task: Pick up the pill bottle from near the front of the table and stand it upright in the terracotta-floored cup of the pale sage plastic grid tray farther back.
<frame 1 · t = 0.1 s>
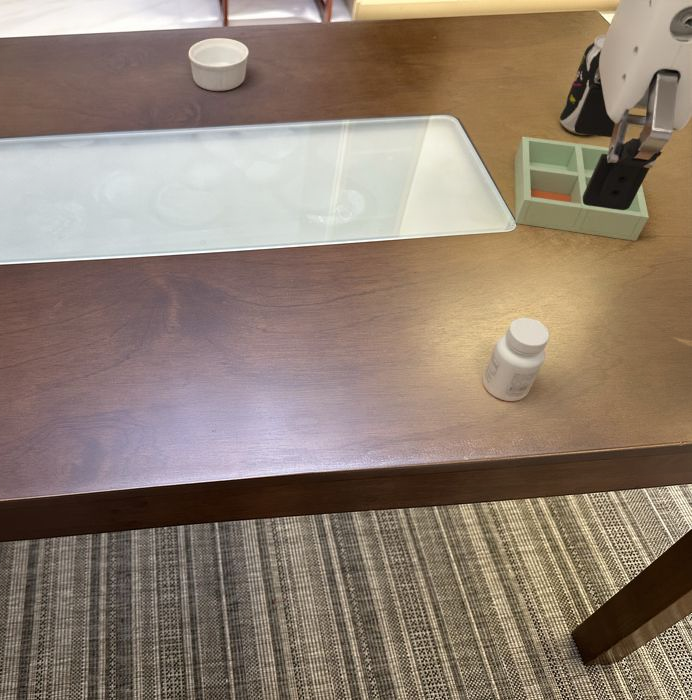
hand: (598, 167, 56), 22 cm above the table, tool pointing down, fingers open, 9 cm apart
grid: (571, 198, 90), on the table
beverage can: (578, 128, 100), on the table
ramekin: (219, 80, 109), on the table
pill bottle: (504, 385, 70), on the table
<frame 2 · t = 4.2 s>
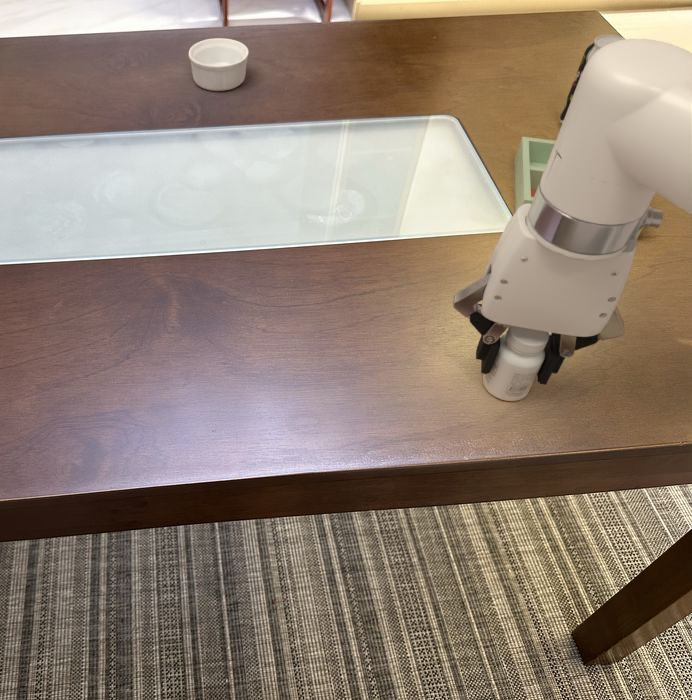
hand: (513, 366, 68), 3 cm above the table, tool pointing down, fingers closed on pill bottle, 4 cm apart
pill bottle: (504, 385, 70), on the table, touching gripper
everything else where it was.
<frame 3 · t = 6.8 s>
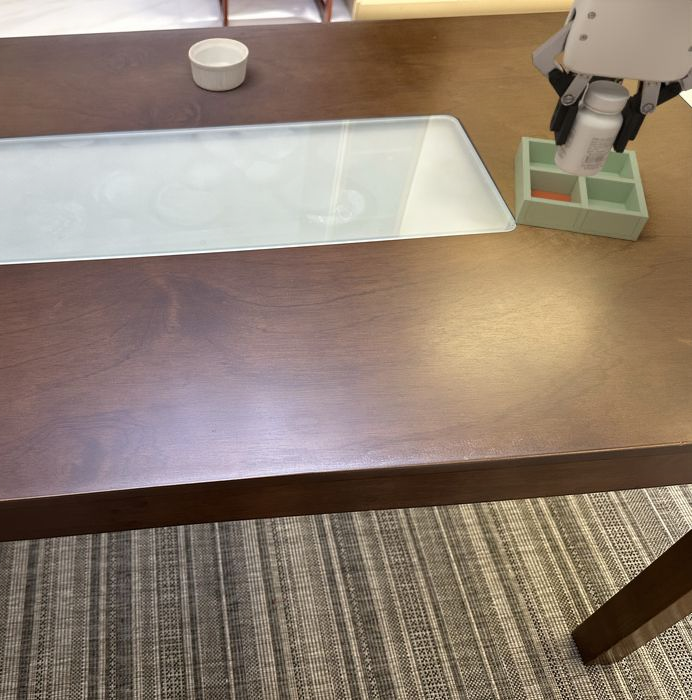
hand: (587, 139, 67), 17 cm above the table, tool pointing down, fingers closed on pill bottle, 4 cm apart
pill bottle: (576, 166, 69), point 15 cm above the table, touching gripper
everything else where it was.
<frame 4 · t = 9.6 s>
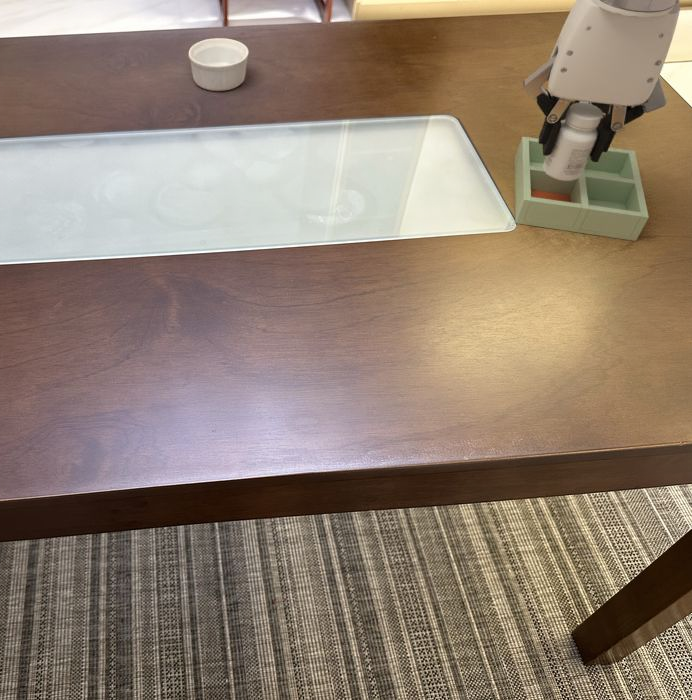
hand: (569, 150, 82), 8 cm above the table, tool pointing down, fingers closed on pill bottle, 4 cm apart
pill bottle: (560, 172, 84), point 5 cm above the table, touching gripper
everything else where it was.
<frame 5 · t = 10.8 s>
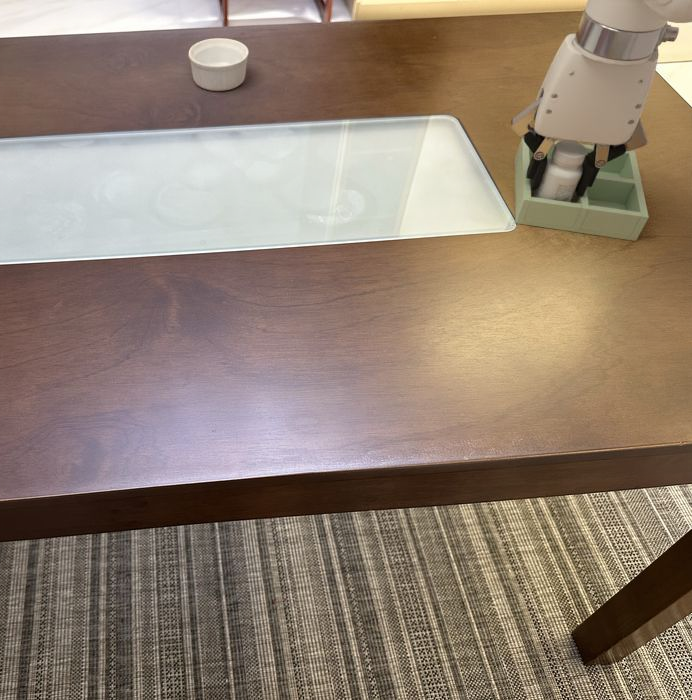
hand: (556, 185, 85), 4 cm above the table, tool pointing down, fingers closed on pill bottle, 4 cm apart
pill bottle: (548, 205, 87), point 1 cm above the table, touching gripper
everything else where it was.
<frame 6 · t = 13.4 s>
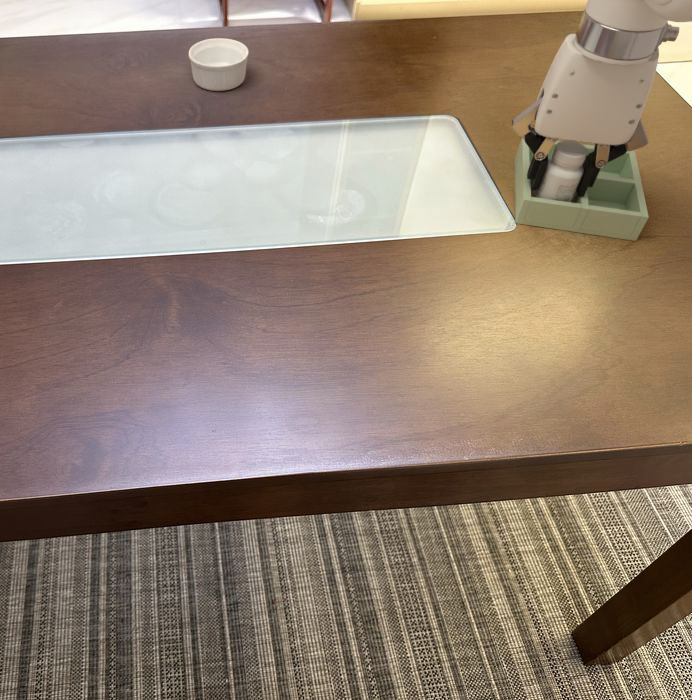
hand: (557, 185, 85), 4 cm above the table, tool pointing down, fingers closed on pill bottle, 4 cm apart
pill bottle: (548, 205, 87), point 1 cm above the table, touching gripper
everything else where it was.
when the fingers open (4 cm above the table, at t = 15.2 s): pill bottle stays where it is, resting on grid.
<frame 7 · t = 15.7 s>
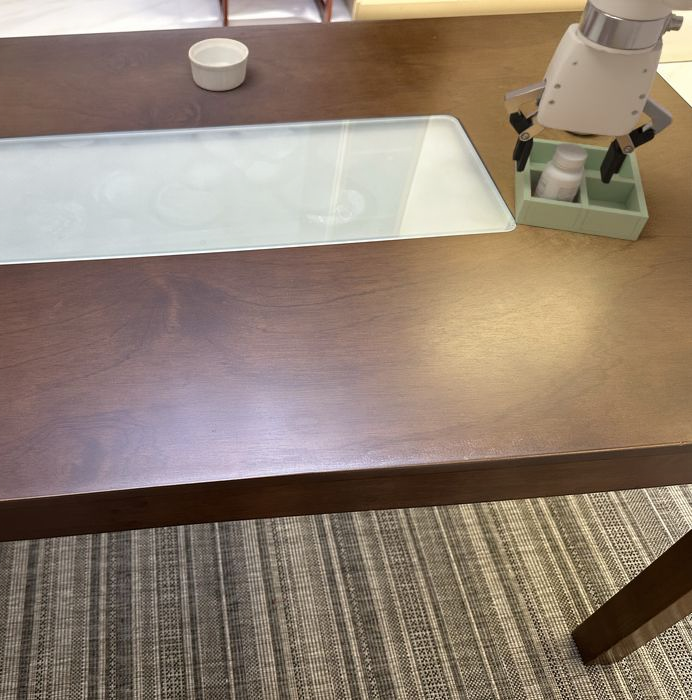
hand: (561, 170, 84), 6 cm above the table, tool pointing down, fingers open, 9 cm apart
pill bottle: (548, 207, 87), point 1 cm above the table, touching grid
everything else where it was.
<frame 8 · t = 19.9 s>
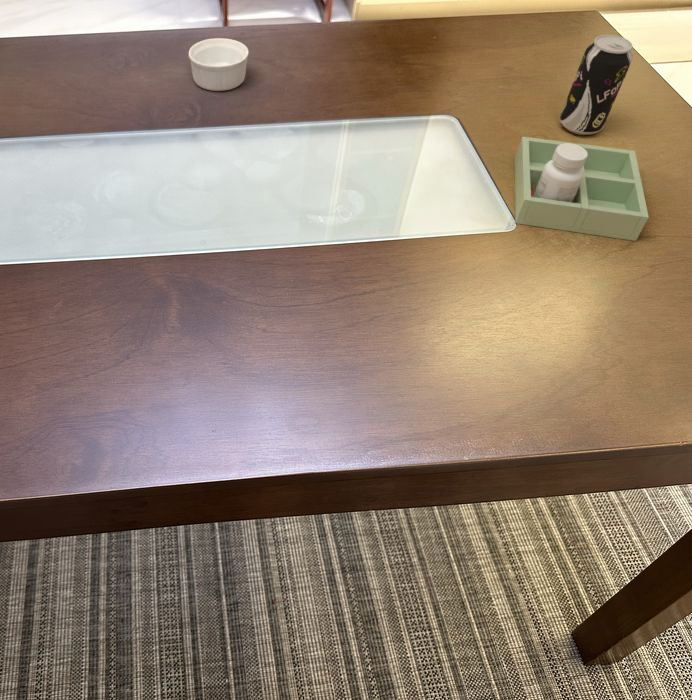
nothing on the table moved.
at the end: pill bottle 0.3 cm from the target spot in the grid, point 0.5 cm above the grid's base; pill bottle tilted 0°; the gripper is holding nothing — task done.
